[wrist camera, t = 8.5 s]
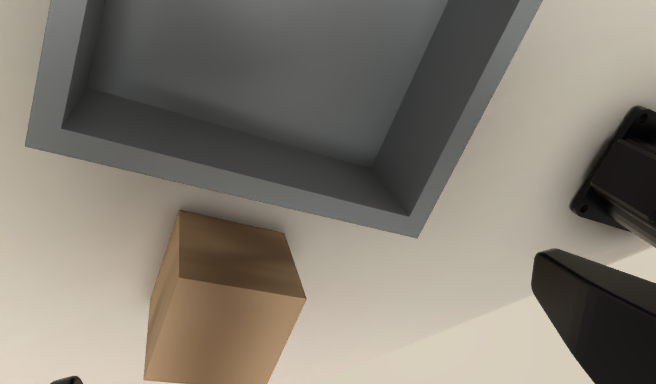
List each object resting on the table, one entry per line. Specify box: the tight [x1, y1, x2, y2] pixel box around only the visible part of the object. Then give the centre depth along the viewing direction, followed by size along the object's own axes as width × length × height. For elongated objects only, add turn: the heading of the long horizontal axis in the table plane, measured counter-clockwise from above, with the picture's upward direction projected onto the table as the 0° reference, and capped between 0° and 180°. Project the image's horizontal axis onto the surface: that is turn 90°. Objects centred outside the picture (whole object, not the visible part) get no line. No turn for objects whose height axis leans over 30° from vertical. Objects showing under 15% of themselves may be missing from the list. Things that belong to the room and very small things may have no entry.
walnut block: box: [144, 210, 306, 384], centre depth 21 cm, size 5×5×5 cm
